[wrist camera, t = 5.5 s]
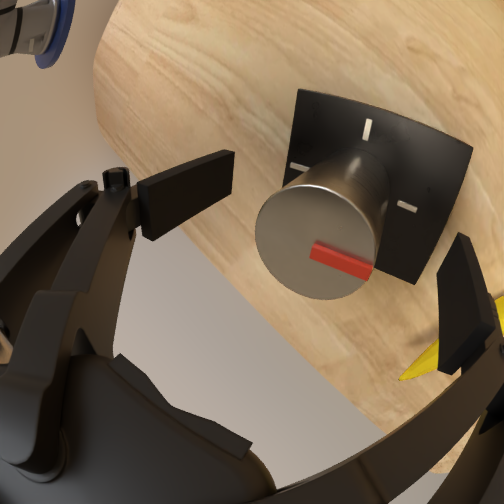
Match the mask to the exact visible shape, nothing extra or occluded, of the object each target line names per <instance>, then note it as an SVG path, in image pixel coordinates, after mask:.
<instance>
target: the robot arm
mask: <svg viewBox="0 0 504 504" xmlns="http://www.w3.org/2000/svg"><path fill="white" fill-rule="evenodd" d="M16 3H17V0H0V57H3V56H7V55H10V54H14V53H22V54H31V55H40V54H45V53H46V52H47V51H48V49H49V48H50V46H51V44H52V42H53V39H54V37H55V34H56V30H57V27H58V23H59V18H60V11H61V1H60V0H39V1H36V2H34V3H31V4H29V5H27V6H24V7H20V8H15V6H16ZM234 157H235V152H233V151H229V150H225V149H224V150H221V151H218V152H215V153H212V154H209V155H206V156H203V157H200V158H197V159H195V160H192V161H189V162H186V163H184V164H181V165H178V166H176V167H173V168H171V169H168V170H165V171H163V172H160V173H158V174H155V175H153V176H151V177H148V178H146V179H144V180H141V181H139V182H137V184H136V185H134V186H132V187H130V175H129V169H128V168H126V167H116V168H111V169H109V170H106V171H104V172H103V173H102V174H103V182H104V191H99V190H98V184H97V182H96V181H92V180H91V181H89V180H86V181H83V182H81V183H79V184H77V185H76V186H75V187H74V188H72V189H71V190H70V191H68V192H67V193H66V194H65V195H63V196H62V197H61V198H60V199H58V200H57V201H56V202H55V203H54V204H53V205H51V206H50V207H49V208H48V209H47V210H46V211H45V212H43V214H41V215H40V216H39V217H38V218H37V219H36V220H35V221H34V222H32V223H31V224H30V225H29V226H28V227H27V228H26V229H25V230H24V231H23V232H22V233H21V234H20V235H19V236H18V237H17V238H16V239H15V240H14V241H13V242H12V243H11V244H10V245H9V247H7V249H5V251H4V252H3V253H2V254H1V255H0V504H388V503H389V502H390V501H392V500H393V499H394V498H396V497H397V496H398V495H400V494H401V493H402V492H404V491H405V490H406V489H407V488H409V487H410V486H411V485H412V484H414V483H415V482H416V481H417V480H418V479H420V478H421V477H422V476H423V475H424V474H425V473H427V472H428V471H429V470H430V469H431V468H432V467H433V466H434V465H435V464H436V463H437V462H439V461H440V460H441V459H442V458H443V457H444V456H445V455H446V454H447V453H448V452H449V451H450V450H451V449H452V448H453V446H454V445H455V444H456V443H457V442H458V441H459V440H460V439H461V438H462V437H463V436H464V434H465V433H466V432H467V431H468V430H469V429H470V428H471V426H472V425H473V424H474V423H475V422H476V420H477V419H478V418H479V417H480V418H479V420H478V422H477V424H476V426H475V428H474V430H473V432H472V434H471V436H470V438H469V440H468V442H467V444H466V446H465V448H464V449H463V451H462V453H461V455H460V456H459V458H458V460H457V461H456V463H455V465H454V466H453V468H452V469H451V471H450V472H449V474H448V476H447V477H446V479H445V480H444V482H443V483H442V484H441V486H440V487H439V489H438V490H437V491H436V493H435V494H434V495H433V497H432V498H431V499H430V501H429V502H428V503H427V504H504V337H503V334H502V329H501V324H500V320H499V315H498V312H497V307H496V303H495V301H494V299H493V298H492V296H491V294H490V293H488V291H487V288H486V284H485V281H484V278H483V274H482V271H481V268H480V265H479V262H478V259H477V256H476V254H475V251H474V248H473V246H472V243H471V240H470V238H469V237H468V236H466V235H464V234H462V233H460V232H458V233H457V235H456V237H455V239H454V241H453V243H452V245H451V247H450V249H449V251H448V253H447V255H446V257H445V259H444V261H443V263H442V265H441V266H440V268H439V270H438V272H437V287H438V305H439V350H438V368H437V370H438V371H441V372H444V373H446V374H449V375H453V374H454V373H455V372H456V371H457V370H458V369H459V368H460V367H461V376H460V377H458V378H457V379H456V380H455V381H454V382H453V383H452V384H451V385H450V386H448V387H447V388H446V389H445V390H444V391H443V392H442V393H441V394H440V395H439V396H438V397H436V398H435V399H434V400H433V401H432V402H430V403H429V404H428V405H427V406H426V407H424V408H423V409H422V410H421V411H419V412H418V413H417V414H415V415H414V416H413V417H411V418H410V419H409V420H407V421H406V422H405V423H403V424H402V425H401V426H399V427H398V428H396V429H395V430H393V431H392V432H390V433H389V434H387V435H386V436H385V437H383V438H381V439H380V440H378V441H377V442H375V443H373V444H372V445H370V446H369V447H367V448H365V449H364V450H362V451H360V452H358V453H357V454H355V455H353V456H351V457H350V458H348V459H346V460H344V461H342V462H340V463H338V464H336V465H334V466H332V467H330V468H328V469H326V470H324V471H322V472H320V473H317V474H315V475H313V476H311V477H308V478H306V479H303V480H301V481H298V482H295V483H293V484H290V485H288V486H285V487H283V488H280V489H276V486H275V483H274V480H273V478H272V476H271V474H270V472H269V471H268V469H267V468H266V466H265V465H264V463H263V462H262V461H261V460H260V459H259V458H258V457H257V456H256V455H255V454H254V453H253V452H252V451H251V450H250V447H251V445H252V442H251V441H249V440H247V439H245V438H243V437H241V436H239V435H237V434H236V433H234V432H232V431H230V430H228V429H226V428H225V427H223V426H221V425H220V424H218V423H216V422H215V421H212V420H208V419H205V418H202V417H199V416H196V415H194V414H191V413H188V412H185V411H183V410H180V409H178V408H175V407H173V406H171V405H170V404H169V403H168V402H167V401H166V399H165V398H164V397H163V396H162V394H161V393H160V392H159V391H158V389H157V388H156V387H155V385H154V384H153V383H152V382H151V380H150V379H149V378H148V376H147V375H146V374H145V373H144V372H142V371H141V370H140V369H139V368H137V367H136V366H135V365H134V364H132V363H131V362H130V361H129V360H128V359H126V358H125V357H124V356H123V355H122V354H121V353H120V354H119V355H117V356H116V357H115V358H114V357H113V341H114V335H115V329H116V323H117V317H118V312H119V306H120V301H121V296H122V292H123V287H124V282H125V278H126V274H127V269H128V265H129V261H130V257H131V253H132V249H133V245H134V242H135V238H136V229H135V228H137V227H138V226H140V225H141V229H142V236H144V237H145V238H147V239H149V240H151V241H155V240H156V239H158V238H159V237H161V236H162V235H164V234H166V233H167V232H169V231H170V230H172V229H174V228H175V227H177V226H178V225H180V224H182V223H183V222H185V221H186V220H188V219H190V218H191V217H193V216H195V215H196V214H198V213H200V212H201V211H203V210H205V209H206V208H208V207H210V206H211V205H213V204H215V203H216V202H218V201H220V200H222V199H223V198H225V197H227V196H228V195H230V194H231V192H232V180H233V168H234ZM78 213H79V217H80V222H81V224H80V225H79V226H78V225H77V222H76V216H77V214H78ZM480 415H481V416H480Z"/></svg>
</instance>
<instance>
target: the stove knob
mask: <svg viewBox="0 0 504 504" xmlns="http://www.w3.org/2000/svg"><path fill="white" fill-rule="evenodd" d="M389 193H390V183H389V178H388V175H387V172H386V170H385V168H384V167H383V165H382V164H381V163H380V161H379V160H378V159H376V158H375V157H374V156H373V155H371V154H370V153H368V152H366V151H363V150H360V149H354V148H346V149H341V150H338V151H336V152H334V153H332V154H331V155H329V156H328V157H326V158H325V159H323V160H322V161H320V162H319V163H317V164H316V165H315V166H313V167H312V168H310V169H309V170H307V171H306V172H304V173H303V174H301V175H300V176H299V177H297V178H296V179H294V180H293V181H291V182H290V183H288V184H287V185H286V186H284V187H283V188H281V189H280V190H278V191H277V192H276V193H274V194H273V195H271V196H270V197H269V198H268V199H267V200H266V202H265V203H264V204H263V206H262V208H261V209H260V211H259V214H258V217H257V220H256V225H255V240H256V245H257V249H258V252H259V255H260V257H261V259H262V261H263V263H264V264H265V266H266V267H267V269H268V270H269V272H270V273H271V274H272V275H273V276H274V277H275V278H276V279H277V280H278V281H279V282H280V283H281V284H283V285H284V286H285V287H287V288H288V289H290V290H292V291H294V292H296V293H298V294H300V295H303V296H305V297H309V298H313V299H319V300H331V299H338V298H342V297H345V296H347V295H349V294H351V293H353V292H355V291H356V290H358V289H359V288H360V287H361V286H362V285H363V284H364V283H365V282H366V281H368V279H369V277H370V275H371V273H372V271H373V268H374V265H375V262H376V257H377V253H378V249H379V245H380V240H381V236H382V231H383V226H384V221H385V216H386V211H387V205H388V199H389Z"/></svg>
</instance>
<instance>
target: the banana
mask: <svg viewBox="0 0 504 504" xmlns="http://www.w3.org/2000/svg"><path fill="white" fill-rule="evenodd" d="M495 303H496V307H497V312H498V315H499V320H500V324H501V329H502V334H503V335H504V296H502V297H500V298H498V299H496V300H495ZM438 350H439V338H438V339H437V340H436V341H435V342H434V343H432V344H431V345H430V346H429V347H428V348H427V349H426V350H425V351H424V352H423V353H422V354H421V355H420V356H419V357H418V358H417V359H416V360H415V361H414V362H413V363H412V364H411V366H410V367H409V368H408V369H407V370H406V371H405V372H404V373H403V374H402V375H401V376H400V377H399V381H403V380H408V379H412V378H415V377H418V376H421V375H423V374H426V373H428V372H430V371H433V370H435V369H437V368H438Z"/></svg>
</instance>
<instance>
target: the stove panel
mask: <svg viewBox="0 0 504 504" xmlns="http://www.w3.org/2000/svg"><path fill="white" fill-rule="evenodd" d="M346 148H354V149H360V150H363V151H366V152H368V153H370V154H371V155H373V156H374V157H375V158H376V159H378V160H379V161H380V163H381V164H382V165H383V167H384V168H385V170H386V172H387V175H388V178H389V183H390V193H389V199H388V205H387V211H386V216H385V221H384V226H383V231H382V236H381V240H380V245H379V249H378V253H377V257H376V262H375V265H374V268H376V269H378V270H380V271H383V272H385V273H387V274H390V275H392V276H394V277H397V278H399V279H401V280H404V281H406V282H408V283H411V284H413V285H415V284H416V283H417V281H418V279H419V277H420V275H421V274H422V272H423V270H424V268H425V266H426V264H427V262H428V260H429V258H430V257H431V255H432V253H433V251H434V249H435V247H436V244H437V242H438V240H439V238H440V236H441V234H442V232H443V230H444V227H445V225H446V223H447V221H448V218H449V216H450V214H451V211H452V209H453V206H454V204H455V201H456V199H457V196H458V194H459V191H460V188H461V185H462V183H463V180H464V177H465V174H466V171H467V168H468V165H469V162H470V159H471V155H472V152H473V147H472V146H470V145H468V144H466V143H465V142H463V141H461V140H459V139H457V138H455V137H452V136H450V135H448V134H446V133H444V132H442V131H439V130H437V129H435V128H432V127H430V126H428V125H425V124H423V123H420V122H418V121H415V120H413V119H410V118H407V117H405V116H402V115H399V114H396V113H393V112H391V111H388V110H385V109H381V108H378V107H375V106H372V105H369V104H365V103H362V102H358V101H354V100H351V99H347V98H343V97H339V96H335V95H331V94H326V93H322V92H317V91H312V90H306V89H298V92H297V99H296V105H295V112H294V118H293V125H292V131H291V137H290V144H289V150H288V156H287V162H286V168H285V174H284V180H283V186H282V188H283V187H284V186H286V185H287V184H288V183H290V182H291V181H293V180H294V179H296V178H297V177H299V176H300V175H301V174H303V173H304V172H306V171H307V170H309V169H310V168H312V167H313V166H315V165H316V164H317V163H319V162H320V161H322V160H323V159H325V158H326V157H328V156H329V155H331V154H332V153H334V152H336V151H338V150H341V149H346Z"/></svg>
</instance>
